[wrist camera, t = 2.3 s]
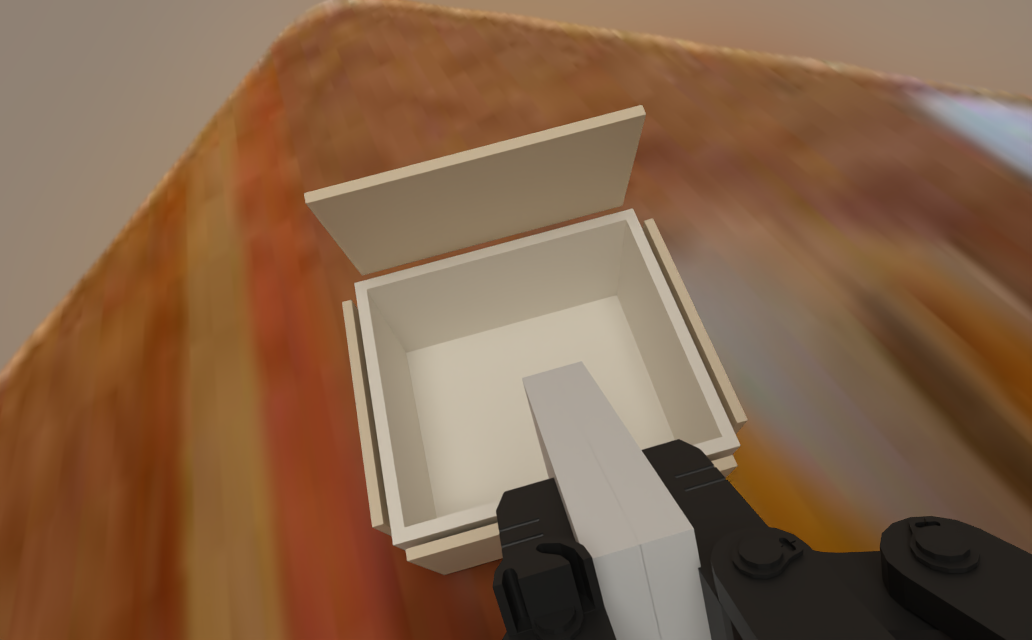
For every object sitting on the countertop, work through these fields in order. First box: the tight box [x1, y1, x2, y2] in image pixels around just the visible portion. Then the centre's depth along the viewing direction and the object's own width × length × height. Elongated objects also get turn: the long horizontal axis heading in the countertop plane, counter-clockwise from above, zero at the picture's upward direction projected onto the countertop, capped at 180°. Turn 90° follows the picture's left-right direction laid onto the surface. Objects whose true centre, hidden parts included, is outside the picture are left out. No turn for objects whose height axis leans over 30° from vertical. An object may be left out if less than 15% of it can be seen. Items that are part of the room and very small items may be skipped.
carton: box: [342, 209, 748, 575], centre depth 33 cm, size 18×15×9 cm
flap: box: [304, 105, 646, 275], centre depth 29 cm, size 15×1×8 cm, turn 105°
